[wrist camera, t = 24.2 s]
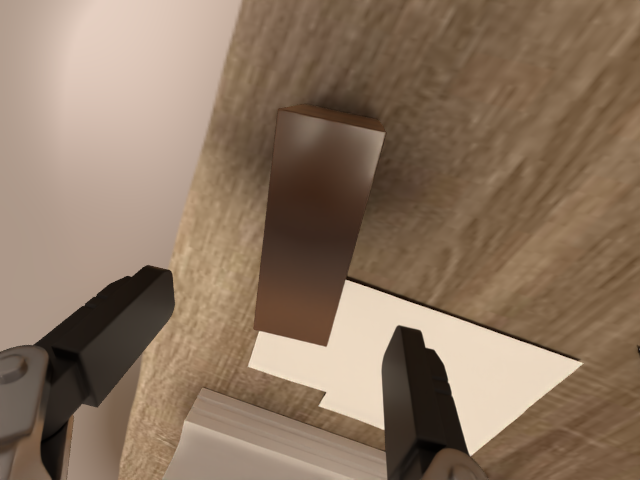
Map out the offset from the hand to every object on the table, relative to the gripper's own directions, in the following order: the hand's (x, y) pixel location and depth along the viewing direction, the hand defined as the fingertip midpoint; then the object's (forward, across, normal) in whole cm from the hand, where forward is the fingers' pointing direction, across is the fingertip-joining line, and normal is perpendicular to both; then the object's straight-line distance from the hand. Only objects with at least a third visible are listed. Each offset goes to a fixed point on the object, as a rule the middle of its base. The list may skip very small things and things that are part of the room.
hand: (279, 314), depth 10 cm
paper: (+11, -9, +14) cm, 20 cm away
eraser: (+10, 0, 0) cm, 11 cm away
